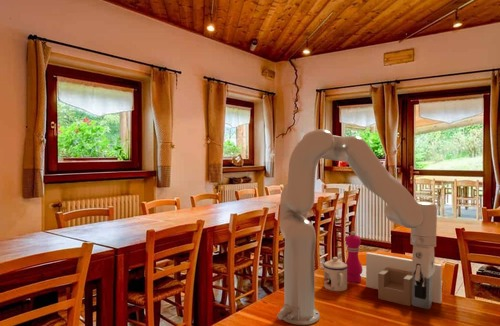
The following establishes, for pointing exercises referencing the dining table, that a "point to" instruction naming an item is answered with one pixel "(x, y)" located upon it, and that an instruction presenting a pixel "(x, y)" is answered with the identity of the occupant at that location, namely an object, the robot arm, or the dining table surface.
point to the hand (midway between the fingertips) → (421, 295)
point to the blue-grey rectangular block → (427, 301)
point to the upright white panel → (397, 278)
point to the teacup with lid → (335, 275)
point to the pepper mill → (353, 258)
